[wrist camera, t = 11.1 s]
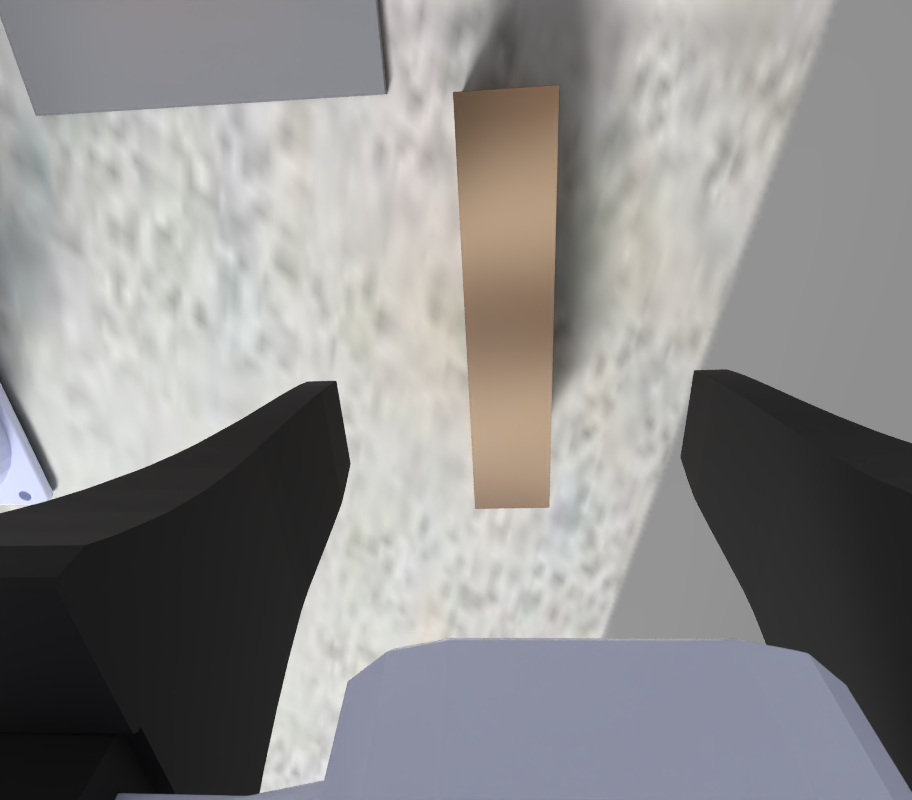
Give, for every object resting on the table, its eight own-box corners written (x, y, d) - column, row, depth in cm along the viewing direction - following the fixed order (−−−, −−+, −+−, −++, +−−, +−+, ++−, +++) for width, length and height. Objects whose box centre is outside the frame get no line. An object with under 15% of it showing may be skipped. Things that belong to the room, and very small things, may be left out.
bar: (537, 428, 23) (549, 507, 18) (477, 430, 23) (475, 508, 18) (540, 88, 17) (559, 84, 13) (461, 93, 17) (452, 92, 13)
